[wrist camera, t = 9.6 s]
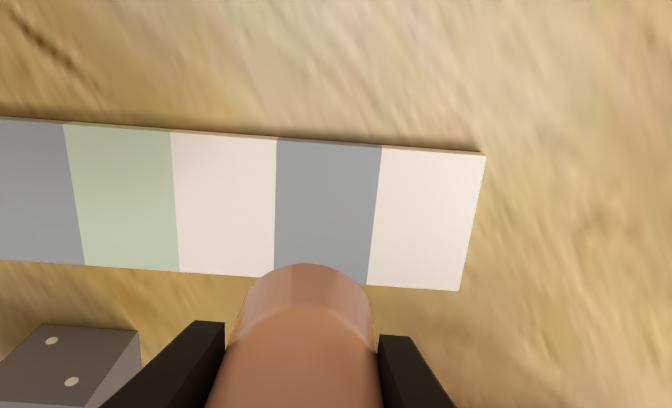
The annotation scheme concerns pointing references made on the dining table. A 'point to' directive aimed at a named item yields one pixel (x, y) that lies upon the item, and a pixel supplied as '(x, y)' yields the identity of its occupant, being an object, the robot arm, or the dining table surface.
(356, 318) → the pawn
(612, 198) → the dining table surface
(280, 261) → the board
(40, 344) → the die
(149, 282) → the dining table surface
